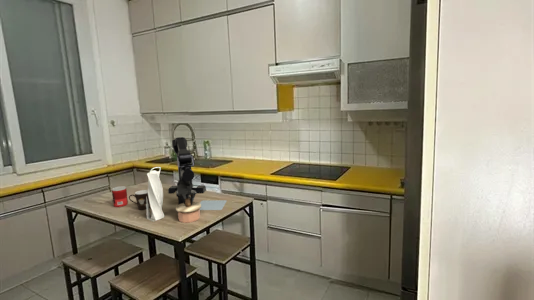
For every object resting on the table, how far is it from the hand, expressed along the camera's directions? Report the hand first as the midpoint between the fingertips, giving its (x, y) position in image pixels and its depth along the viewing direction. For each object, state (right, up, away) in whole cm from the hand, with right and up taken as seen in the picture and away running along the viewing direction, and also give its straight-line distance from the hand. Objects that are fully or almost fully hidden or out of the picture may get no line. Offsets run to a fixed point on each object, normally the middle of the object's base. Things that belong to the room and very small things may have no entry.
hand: (188, 205), depth 155 cm
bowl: (0, -7, +1) cm, 8 cm away
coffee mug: (-33, -6, +19) cm, 38 cm away
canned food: (-48, -5, +25) cm, 55 cm away
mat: (+8, -4, +19) cm, 22 cm away
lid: (0, -1, 0) cm, 2 cm away
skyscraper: (-18, -8, +3) cm, 20 cm away
